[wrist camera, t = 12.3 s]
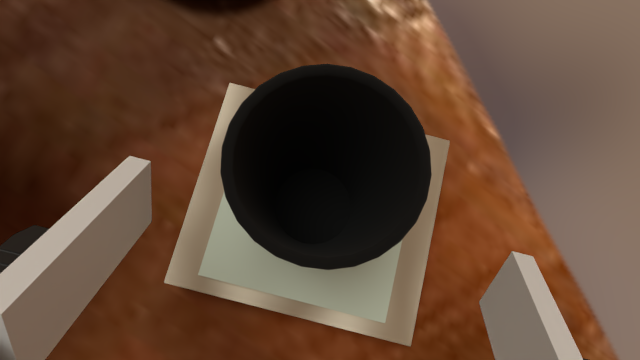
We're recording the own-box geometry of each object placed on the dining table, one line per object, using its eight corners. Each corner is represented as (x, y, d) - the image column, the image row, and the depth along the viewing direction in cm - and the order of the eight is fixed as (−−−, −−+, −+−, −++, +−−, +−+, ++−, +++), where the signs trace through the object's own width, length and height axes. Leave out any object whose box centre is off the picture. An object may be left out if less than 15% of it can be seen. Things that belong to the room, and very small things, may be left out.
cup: (289, 130, 27) (285, 29, 15) (389, 183, 27) (464, 120, 15) (231, 231, 25) (178, 204, 14) (337, 288, 25) (376, 310, 13)
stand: (179, 280, 28) (161, 283, 25) (236, 102, 32) (228, 79, 28) (396, 336, 29) (413, 348, 25) (433, 154, 32) (452, 138, 28)
